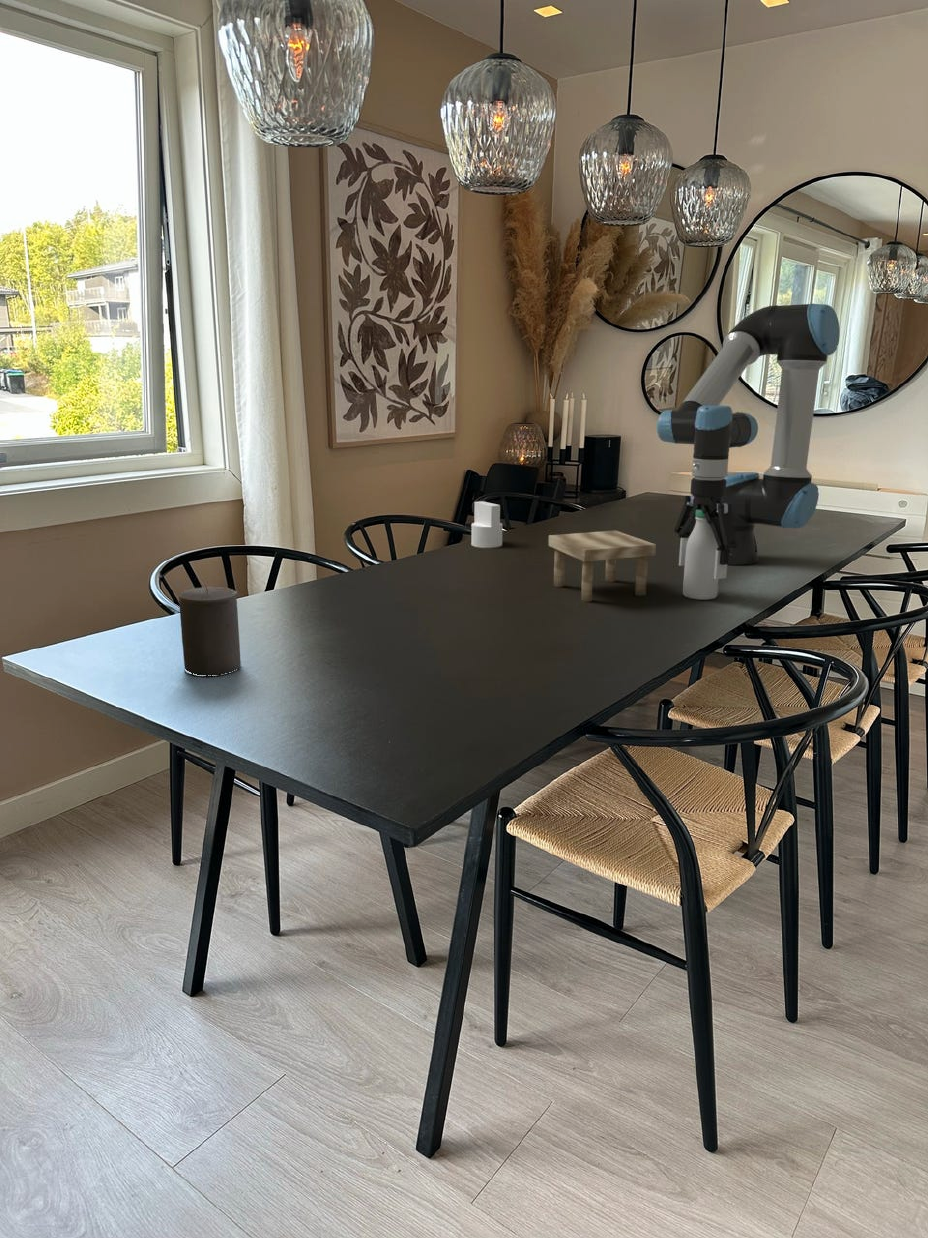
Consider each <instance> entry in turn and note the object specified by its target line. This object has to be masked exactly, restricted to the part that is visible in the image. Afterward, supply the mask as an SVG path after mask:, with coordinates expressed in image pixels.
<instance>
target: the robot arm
mask: <svg viewBox="0 0 928 1238" xmlns="http://www.w3.org/2000/svg"><path fill="white" fill-rule="evenodd" d="M840 331H841V330H840V322H839V317H838V315H837V312H836V310H835V309H834V308H833V307H832V306H831V305H830V304H823V303H806V304H805V303H803V304H787V305H783V304H782V305H768V306H764V307H761V308H759V309H757V310H755V311H753V312H751V313H750V314H749V315H747V316H746V317H744V318H743V319H741V320H740V321H739V322H738V323H737V324H736V325H734V326H733V328H731V330H730V331H729V332H728V333H727V334H726V336H725V337H724V339H723V343H722V348H721V350H720V351H719V352H718V353H717V355H716V356H715V357H714V359H713V360H712V362H711V363H710V364H709V365H708V367H707V369H706V370H705V371H704V373H702V375H701V377H700V378H699V379H698V380H697V382H696V383H695V385H694V386H693V388H692V389H691V390H690V392H689V393H688V394H687V396H686V397H685V398H684V400H683V401H682V402H681V403H680V405H679V406H678V408H677V409H670V410H669V409H666V410H663V411H662V412H661V413H660V414H659V417H658V419H657V423H656V432H657V434H658V437H659V439H660V441H662V442H665V443H671V444H679V445H680V444H681V445H693V456H692V457H693V458H692V459H693V460H692V471H691V475H692V476H693V478H692V479H691V481H690V494H691V495H685V496H684V501H683V502H684V503H683V506H682V509H681V511H680V514H679V517H678V519H677V522H676V524H675V527H674V530H673V531H674V533H675V534H677V535H678V537H679V547H678V548H679V555H678V566H680V567H681V566H682V567H683V566H684V567H685V556H686V547H687V542H688V539H689V537H690V535H691V533H692V532H693V530H694V527H695V524H696V519H695V518H696V510H697V509H701V510H702V512H703V514H704V515H705V518H706V520H707V523H708V524H710V526H711V528H712V531H713V534H714V536H715V539H716V542H717V544H718V548H717V549H716V558H715V570H714V579H719V580H721V579H726V578H727V571H728V565H730V566H731V565H733V566H734V565H738V566H739V565H750V564H754V563H757V562H758V561H759V549H758V546H757V541H756V537H755V533H754V531H755V530H754V529H755V524H756V525H763V526H769V527H776V528H777V527H778V528H782V529H796V530H797V529H801V528H804V527H805V526H806V525H807V524H808V523H809V522H810V520H811V519H812V517H813V516H814V514H815V511H816V509H817V506H818V501H819V494H820V493H819V487H818V485H817V484H815V483H814V482H812V478H813V475H812V474H811V472H809V470H808V459H809V452H810V451H809V450H810V443H811V435H812V428H813V419H814V412H815V405H816V395H817V389H818V382H819V373H820V372H819V371H820V370H821V368H823V367H824V366H825V365H826V364H827V363H828V362H827V361H828V356H831V355H834V354H835V352H836V351H837V350H838V346H839V342H840ZM766 355H771V356H772V355H777V356H776V363H777V364H778V365H779V367H780V368H781V376H780V386H779V391H778V402H777V408H776V409H777V410H776V419H775V425H774V434H773V435H774V436H773V444H772V451H771V452H772V454H771V461H770V466H769V468H768V469H766V470H765V471H764V472H763V477H762V478H760V473H759V472H757V471H756V472H755V471H748V472H747V471H744V472H743V471H742V472H734V473H733V472H731V473H728V471H729V470H728V469H729V455H730V454H729V453H730V448H731V449H732V448H742V447H744V446H746V445H750V444H751V443H752V442H753V441H754V440H755V439H756V438H757V435H758V431H759V426H758V422H757V420H756V418H755V417H754V416H753V415H752V414H750V413H747V412H743V411H741V412H739V411H737V412H733V409H732V408H731V406H728V405H721V403H722V402H723V400H724V399H725V398H726V396H727V395H728V393H729V392H730V390H731V389H732V388H733V386H734V385H735V384H736V382H737V381H738V379H739V378H740V377H741V375H742V374H743V372H744V371H745V370H746V368H747V367H748V366H749V365H752V364H754V363H755V362H756V361H757V360H758V359H759V357H762V356H766ZM698 518H699V517H698Z"/></svg>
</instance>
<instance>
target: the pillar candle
mask: <svg viewBox="0 0 928 1238" xmlns="http://www.w3.org/2000/svg"><path fill="white" fill-rule="evenodd" d="M237 594H238V591H237V590H234V589H231V588H228V587H219V586H218V587H217V586H215V587H214V586H207V585H205V586H204V587H194V588H191V589H185V590H183V591H181V592H180V593H179V596H178V600H179V601H178V602H179V617H180V629H181V643H182V651H183V652H182V653H183V665H184V670H185V669H186V670H187V671H189V672H191V673H192V674H193V673H194V674H197V675H206V676H208V675H211V676H212V675H221V674H225V673H229V672H232V671H234V670H236V669H238V668H239V667H240V665H242V662H241V648H240V633H239V631H240V630H239V629H240V628H239V615H238V613H239V612H238V600H237V599H238V598H237V597H238V596H237ZM240 668H241V667H240ZM240 668H239V669H240ZM239 669H238V670H239Z"/></svg>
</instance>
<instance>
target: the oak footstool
mask: <svg viewBox="0 0 928 1238" xmlns="http://www.w3.org/2000/svg"><path fill="white" fill-rule="evenodd" d="M548 547H550V548H552V549H554V555H553V556H554V557H553V559H554V562H553V564H554V565H553V586H554V587H556V588H561V587H562V588H563V587H564V585H565V584H564V583H565V561H566V560H565V559H566V558H565V556H566V555H568V556H571V557H573V558H575V559H578V560H580V561H582V567H581V571H582V572H581V591H580V595H581V596H580V601H581V602H585V603H586V602H589V603H590V602H592V601H593V581H594V580H593V578H594V562H597V561H605V575H604V577H605V578H604V581H605V582H608V583H613V582H616V575H617V574H616V573H617V572H616V571H617V560H619V559H620V560H621V559H627V558H628V559H629V558H636V575H635V592H634V595H635V596H638V597H644V595H645V596H646V594H647V581H648V580H647V579H648V564H649V563H648V561H649V557H652V556H656V549H657V548H656V543H652V542H649V541H647V540H644V539H642V538H638V537H636V536H632V535H629V534H627V533H624V532H622V531H618V530H604V531H602V530H601V531H590V532H577V533H576V532H574V533H563V534H562V533H561V534H550V535H548ZM565 554H566V555H565Z"/></svg>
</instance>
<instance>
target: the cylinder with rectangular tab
mask: <svg viewBox="0 0 928 1238" xmlns="http://www.w3.org/2000/svg"><path fill="white" fill-rule="evenodd" d="M473 511H474V513H473V514H474V517H473V518H474V522H472V523H471V541H470V542H471V546H473V547H475V548H482V549H491V548H499V547H502V546H503V523H501V505H500V504H496V503H491V502H487V501H483V500H481V501H474V510H473Z"/></svg>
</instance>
